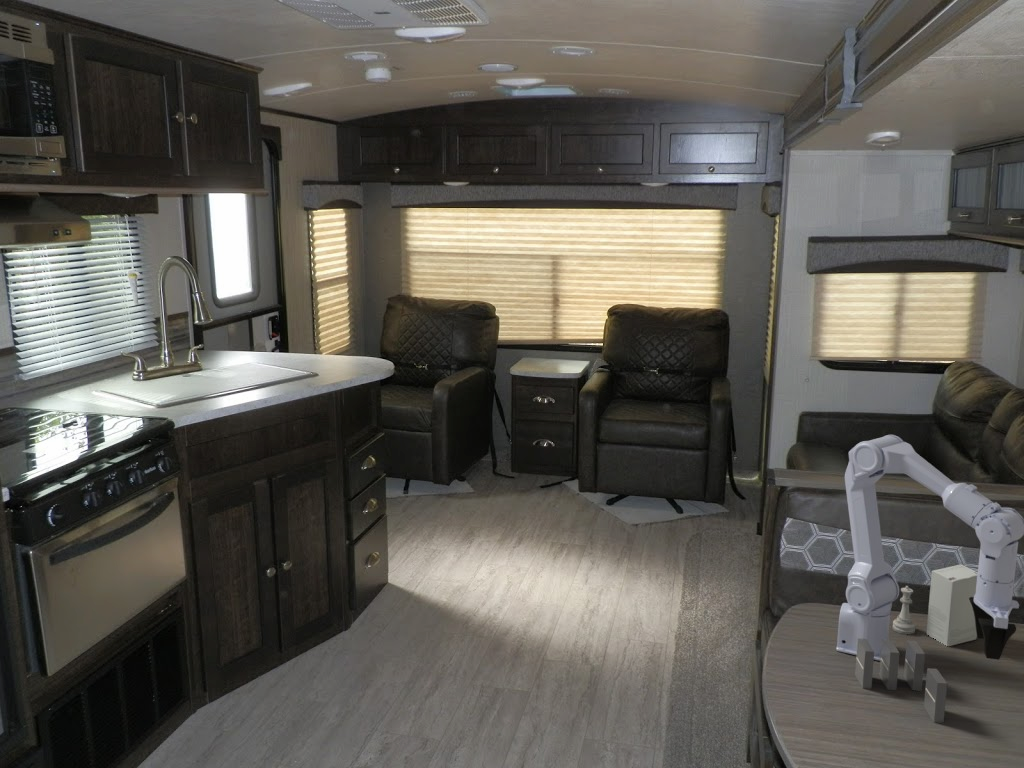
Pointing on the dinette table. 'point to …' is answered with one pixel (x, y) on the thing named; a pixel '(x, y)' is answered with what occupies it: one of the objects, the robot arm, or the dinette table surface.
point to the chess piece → (904, 614)
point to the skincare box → (952, 605)
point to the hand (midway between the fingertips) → (987, 647)
